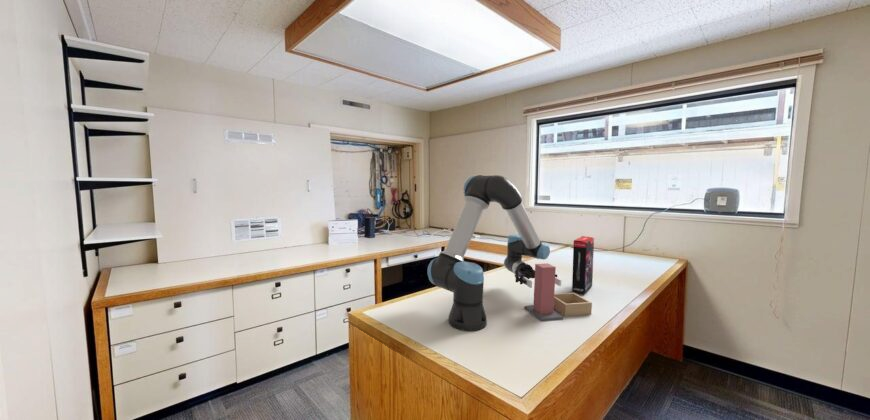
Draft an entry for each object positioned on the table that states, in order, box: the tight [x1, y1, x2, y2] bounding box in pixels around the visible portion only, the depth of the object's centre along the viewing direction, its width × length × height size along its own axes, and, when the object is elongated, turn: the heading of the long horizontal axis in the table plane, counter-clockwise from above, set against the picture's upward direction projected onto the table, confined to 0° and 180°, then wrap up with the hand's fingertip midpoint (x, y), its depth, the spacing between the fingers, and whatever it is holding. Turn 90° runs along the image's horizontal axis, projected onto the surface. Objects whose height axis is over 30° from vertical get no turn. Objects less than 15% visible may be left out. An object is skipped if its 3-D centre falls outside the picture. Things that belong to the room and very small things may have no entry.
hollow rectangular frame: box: [554, 292, 593, 317], centre depth 146 cm, size 13×13×5 cm
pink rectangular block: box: [532, 263, 557, 314], centre depth 140 cm, size 6×6×20 cm
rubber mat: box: [524, 304, 564, 322], centre depth 141 cm, size 10×14×1 cm
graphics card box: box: [571, 235, 595, 295], centre depth 172 cm, size 17×7×27 cm, turn 143°
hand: (545, 283), depth 139 cm, fingers open, 13 cm apart
